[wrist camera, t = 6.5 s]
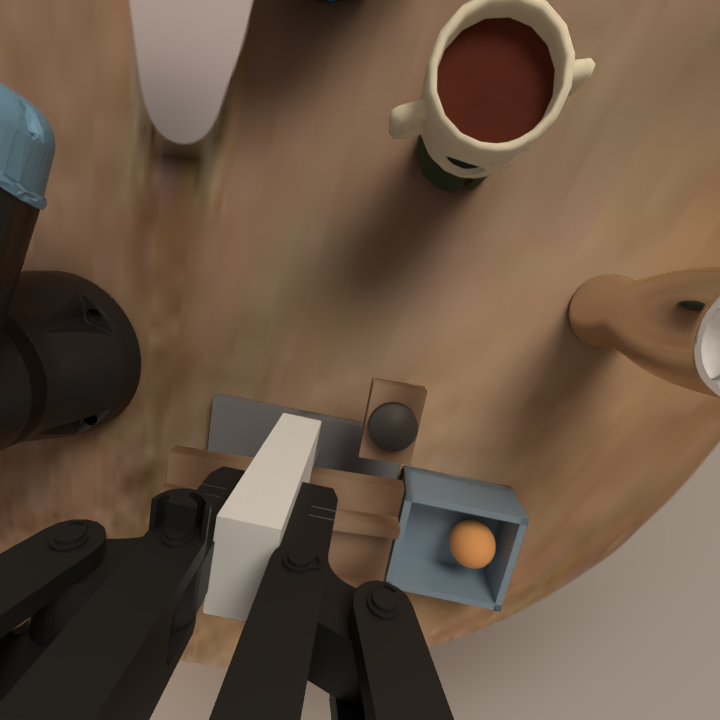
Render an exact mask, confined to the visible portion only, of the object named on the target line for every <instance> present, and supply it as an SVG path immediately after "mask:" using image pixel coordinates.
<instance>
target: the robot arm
mask: <svg viewBox="0 0 720 720" xmlns="http://www.w3.org/2000/svg"><path fill="white" fill-rule="evenodd" d="M54 153H55V137H54V133H53V130H52V128H51V126H50V124H49V122H48V121H47V119H46V118H45V116H44V115H43V114H42V113H41V112H40V110H39V109H38V108H37V107H36V106H34V105H33V104H32V103H31V102H29V101H28V100H27V99H25V98H24V97H22V96H21V95H19V94H18V93H16V92H15V91H13V90H12V89H10V88H9V87H7V86H6V85H4V84H3V83H1V82H0V451H1V450H3V449H5V448H7V447H9V446H11V445H14V444H16V443H18V442H24V441H33V440H41V439H49V438H58V437H66V436H73V435H78V434H81V433H84V432H87V431H90V430H92V429H94V428H96V427H98V426H100V425H102V424H104V423H106V422H107V421H109V420H111V419H113V418H114V417H116V416H117V415H118V414H119V413H120V412H122V410H123V409H124V408H125V407H126V406H127V405H128V403H129V402H130V401H131V399H132V397H133V395H134V393H135V391H136V388H137V386H138V382H139V377H140V370H141V357H140V349H139V344H138V341H137V337H136V334H135V332H134V329H133V327H132V325H131V323H130V321H129V319H128V318H127V316H126V314H125V313H124V312H123V310H122V309H121V308H120V306H119V305H118V304H117V303H116V302H115V300H114V299H113V298H112V297H111V296H110V295H108V294H107V293H106V292H105V291H104V290H102V289H101V288H100V287H98V286H97V285H95V284H94V283H92V282H90V281H88V280H86V279H84V278H82V277H79V276H77V275H74V274H70V273H66V272H60V271H23V272H21V269H22V266H23V263H24V260H25V256H26V253H27V250H28V247H29V244H30V240H31V237H32V234H33V231H34V228H35V224H36V221H37V218H38V215H39V212H40V209H41V210H44V209H45V207H46V206H47V201H46V199H45V197H44V194H45V190H46V186H47V182H48V178H49V173H50V169H51V165H52V161H53V157H54ZM321 422H322V421H319V420H315V419H310V418H305V417H301V416H296V415H291V414H287V413H283V414H282V416H281V417H280V419H279V421H278V422H277V424H276V425H275V427H274V428H273V430H272V431H271V433H270V434H269V436H268V437H267V439H266V441H265V442H264V444H263V445H262V447H261V448H260V450H259V451H258V453H257V454H256V456H255V458H254V459H253V461H252V462H251V464H250V465H249V467H248V468H247V470H246V471H244V470H240V469H235V468H230V467H226V466H223V467H221V468H219V469H217V470H215V471H213V472H211V473H210V474H209V475H208V476H207V477H206V479H205V480H204V481H203V482H202V484H201V485H200V486H199V487H198V489H197V490H195V489H188V488H178V489H170V490H167V491H165V492H162V493H159V494H158V495H157V496H155V497H154V498H152V503H151V513H150V524H149V531H148V532H147V533H146V534H145V535H144V536H143V537H139V538H129V539H106V532H105V528H104V527H103V526H102V525H101V524H99V523H98V522H95V521H91V520H87V519H86V520H69V521H65V522H60V523H57V524H55V525H53V526H50V527H48V528H46V529H44V530H42V531H40V532H38V533H37V534H35V535H33V536H31V537H30V538H28V539H26V540H24V541H22V542H21V543H19V544H17V545H15V546H13V547H12V548H10V549H8V550H6V551H5V552H3V553H1V554H0V720H149V719H150V717H151V715H152V713H153V711H154V709H155V707H156V705H157V703H158V701H159V699H160V697H161V695H162V693H163V691H164V689H165V687H166V685H167V683H168V681H169V679H170V677H171V675H172V673H173V671H174V669H175V667H176V665H177V663H178V662H179V660H180V658H181V656H182V654H183V652H184V650H185V648H186V646H187V644H188V642H189V640H190V638H191V636H192V634H193V630H194V627H195V622H196V615H197V611H198V609H199V607H200V606H201V604H202V602H203V600H204V598H205V601H204V608H203V613H206V614H210V615H215V616H220V617H224V618H229V619H234V620H238V621H243V622H246V623H245V625H244V628H243V631H242V633H241V636H240V639H239V641H238V644H237V647H236V649H235V652H234V655H233V657H232V660H231V663H230V665H229V668H228V671H227V673H226V676H225V678H224V681H223V684H222V687H221V689H220V692H219V694H218V697H217V700H216V702H215V705H214V708H213V710H212V713H211V716H210V718H209V720H300V718H301V712H302V707H303V702H304V696H305V690H306V684H307V680H308V681H310V682H311V683H313V684H315V685H316V686H318V687H319V688H321V689H323V690H324V691H326V692H327V693H329V694H330V699H329V700H330V709H331V719H332V720H454V718H453V716H452V713H451V710H450V707H449V705H448V702H447V699H446V697H445V694H444V691H443V688H442V685H441V683H440V680H439V677H438V675H437V672H436V669H435V666H434V663H433V661H432V658H431V656H430V652H429V650H428V647H427V644H426V641H425V639H424V636H423V633H422V630H421V628H420V625H419V622H418V619H417V617H416V614H415V611H414V608H413V606H412V604H411V602H410V600H409V599H408V597H407V595H406V594H405V593H404V592H402V591H401V590H400V589H399V588H398V587H396V586H394V585H392V584H390V583H388V582H384V581H378V580H374V581H367V582H365V583H363V584H361V585H360V586H358V588H355V587H353V586H351V585H349V584H348V583H346V582H344V581H343V580H341V579H340V578H339V577H338V576H337V575H336V574H335V573H334V572H333V570H332V569H331V567H330V564H329V561H328V554H329V548H330V543H331V537H332V531H333V526H334V520H335V514H336V508H337V503H338V498H337V495H336V493H335V491H334V489H333V488H329V487H324V486H320V485H315V484H310V483H309V482H310V477H311V472H312V467H313V462H314V457H315V452H316V447H317V442H318V437H319V432H320V427H321ZM27 619H28V621H26V622H25V623H24V624H22V625H21V626H19V627H17V626H18V625H20V624H21V623H22V622H24V621H25V620H27ZM16 627H17V628H16ZM14 628H15V629H14Z"/></svg>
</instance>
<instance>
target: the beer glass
mask: <svg viewBox="0 0 720 720" xmlns="http://www.w3.org/2000/svg"><path fill="white" fill-rule="evenodd" d="M568 316H569V323H570V326H571V328H572V330H573V332H574V333H575V335H576V336H577V337H578V338H579V339H580V340H582V341H583V342H585V343H586V344H589V345H591V346H595V347H601V348H615V349H616V350H618V351H619V352H620V353H621V354H623V355H624V356H625V357H627V358H628V359H629V360H631V361H632V362H633V363H635V364H636V365H638V366H639V367H641V368H642V369H644V370H646V371H647V372H649V373H650V374H652V375H654V376H656V377H659V378H661V379H663V380H665V381H668V382H670V383H672V384H675V385H678V386H681V387H684V388H687V389H690V390H693V391H696V392H700V393H703V394H707V395H710V396H714V397H718V398H720V267H706V268H689V269H683V270H677V271H672V272H666V273H662V274H658V275H654V276H650V277H647V278H643V279H639V280H634V279H632V278H629V277H626V276H622V275H617V274H606V275H601V276H597V277H595V278H593V279H591V280H589V281H587V282H586V283H585V284H583V285H582V286H581V287H580V288H579V289H578V290H577V292H576V293H575V295H574V296H573V298H572V300H571V303H570V306H569V313H568Z"/></svg>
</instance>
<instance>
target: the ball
mask: <svg viewBox="0 0 720 720" xmlns="http://www.w3.org/2000/svg"><path fill="white" fill-rule="evenodd" d="M449 545H450V550H451V552H452V554H453V556H454V557H455V559H456V560H457V561H458V562H459V563H460V564H462V565H464V566H465V567H468V568H473V569H477V568H482V567H484V566H486V565H487V564H489V563H490V562H491V560H492V559H493V557H494V554H495V550H496V543H495V539H494V536H493V534H492V532H491V531H490V529H489V528H488V527H487V526H486V525H485V524H483V523H481V522H480V521H477V520H472V519H468V520H463V521H461V522H459V523H457V524H456V525H455V526H454V528H453V529H452V531H451V533H450V537H449Z"/></svg>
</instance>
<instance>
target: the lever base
mask: <svg viewBox="0 0 720 720" xmlns="http://www.w3.org/2000/svg"><path fill="white" fill-rule="evenodd" d="M283 413H287V414H291V415H296V416H301V417H305V418H310V419H315V420H319V421H322V422H321V427H320V432H319V437H318V442H317V447H316V452H315V457H314V462H313V467H319V468H326V469H332V470H339V471H345V472H352V473H359V474H365V475H372V476H378V477H385V478H391V479H397V477H398V473H399V468H400V463H393V462H387V461H380V460H374V459H368V458H361V457H359V455H358V449H359V444H360V439H361V434H362V429H363V423H362V422H357V421H352V420H347V419H342V418H337V417H332V416H327V415H322V414H317V413H312V412H307V411H302V410H298V409H293V408H288V407H283V406H278V405H273V404H268V403H263V402H258V401H253V400H248V399H243V398H238V397H233V396H228V395H223V394H216V395H215V396H214V397H213V404H212V413H211V423H210V432H209V441H208V451H214V452H221V453H228V454H234V455H241V456H247V457H254V458H255V456H256V454H257V453H258V451H259V450H260V448H261V447H262V445H263V444H264V442H265V441H266V439H267V437H268V436H269V434H270V433H271V431H272V430H273V428H274V427H275V425H276V424H277V422H278V421H279V419H280V417H281V416H282V414H283Z"/></svg>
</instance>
